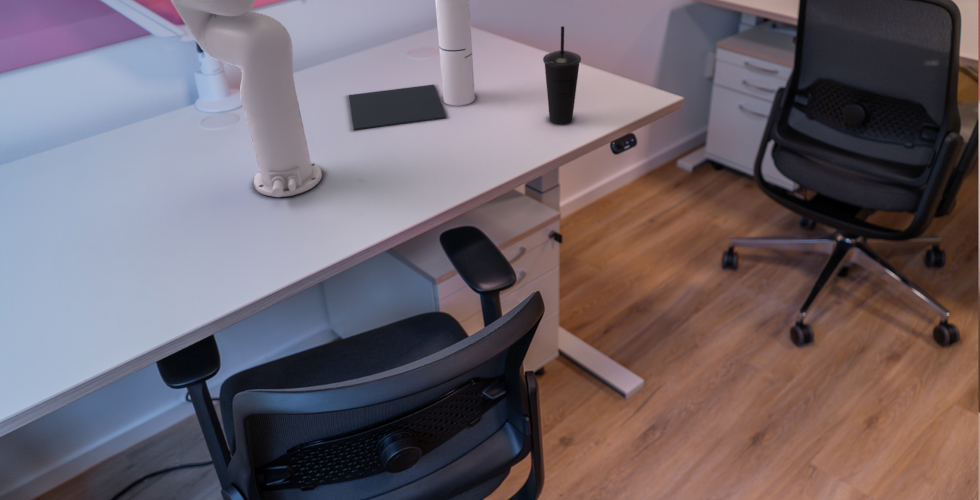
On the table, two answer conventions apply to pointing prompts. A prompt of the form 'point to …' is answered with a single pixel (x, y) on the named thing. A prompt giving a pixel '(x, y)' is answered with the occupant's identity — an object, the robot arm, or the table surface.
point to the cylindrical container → (455, 51)
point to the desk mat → (395, 107)
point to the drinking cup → (561, 83)
